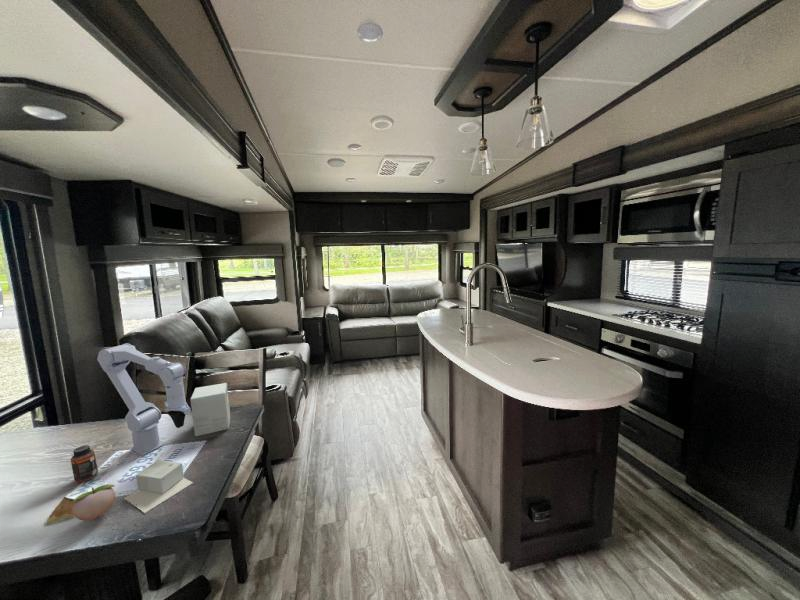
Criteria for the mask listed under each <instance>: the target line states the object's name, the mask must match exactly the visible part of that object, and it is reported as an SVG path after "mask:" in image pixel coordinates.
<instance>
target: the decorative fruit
mask: <svg viewBox="0 0 800 600" xmlns="http://www.w3.org/2000/svg"><path fill="white" fill-rule="evenodd" d="M115 486H116V485H114V484H104V485H103V484H102V485H100V486H97V487H95V488H94V486H93V487H91V490H90V491H86V492H83V493H81V494H79V495H78V496H76V498H73V499H74V500H73V502H72V503H74V502H75V503H74V505H73V515H74V516H73V517H75V519H77V520H79V521H83V522H88V521H92V520H95V519H98V518H100V517H101V516H103V515H104V514H106V513H107V512H108V511H109V510H110V509H112V506H113V504H114V503H115V499H116V492H115V490H114V489H113V487H115ZM72 503H71V504H72Z"/></svg>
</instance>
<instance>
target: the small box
mask: <svg viewBox="0 0 800 600" xmlns="http://www.w3.org/2000/svg"><path fill="white" fill-rule="evenodd" d="M183 477H184V478H185V476H184V469H183V463H182V462H177V461H168V460H162V459H160V460H159V459H158V460H156V461H154V462H153V463H151V464H150V465H148V466H147V467H145V468H144V469H143V470H140V472H138V473H136V474H135V481H136V484H137V485H136V486H137V491H138V490H143V491H149V492H156V493H165V492H166V491H167V490H168V489H170V488H171V487H172V486H173V485H175V484H176V483H177V482H178V481H180V480H181V479H182V478H183Z"/></svg>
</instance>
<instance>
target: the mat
mask: <svg viewBox="0 0 800 600" xmlns="http://www.w3.org/2000/svg"><path fill="white" fill-rule="evenodd" d="M192 484H194V482H193V481H191V480H189V479H187V478H185V476H184V477H183V478H182V479H181V480H180V481H178V482H177V483H176V484H175V485H173V486H172V487H171V488H170V489H168V490H167V491H166V492H165V493H156V492H149V491H143V490H139V491H138V490H136V491H134V492H133V493H135V494H133V493H131V494H132V495H131V494H129V495H127V496H126V497H124V498H123V500H125V501H126V500H127V501H128V503H129V502H130V503H131V504H130V503H129V504H130V505H132V504H133V505H134V506H133V505H132V506H133V507H135V506H136V505H135V504H137V506H136V507H137V508H138V510H139V509H140V510H141V511H140V510H139V511H140V512H142V513H143V514H147V513H148V512H150V511H151V509H152V510H153V509H155V508H157V507H158V506H160V505H161V504H163V503H164V502H166V501H168V500H169V499H171V498H173V496H175V495H177V494H179V493H180V492H182V491H184V490H185V489H186V488H189V486H191V485H192ZM127 501H126V502H127ZM162 502H163V503H162ZM159 504H160V505H159ZM157 505H158V506H157ZM136 507H135V508H136ZM137 508H136V509H137Z"/></svg>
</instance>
